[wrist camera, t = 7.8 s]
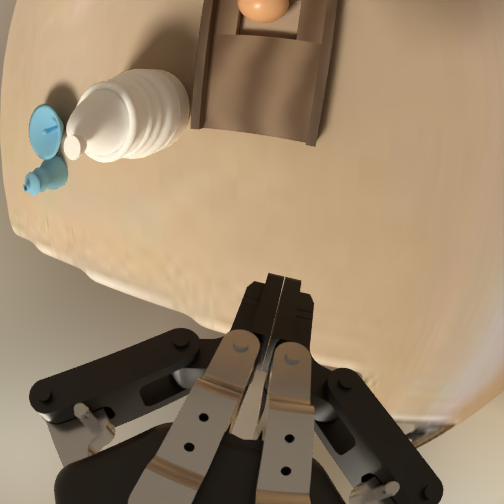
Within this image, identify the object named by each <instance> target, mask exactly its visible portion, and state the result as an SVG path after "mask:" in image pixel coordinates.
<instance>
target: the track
mask: <svg viewBox="0 0 504 504" xmlns="http://www.w3.org/2000/svg"><path fill="white" fill-rule="evenodd" d="M337 2H338V0H302V1H301V9H300V16H299V24H298V31H297V38H296V40H293V39H285V38H276V37H266V36H253V35H239V30H240V23H241V16H242V13H241V11H240V10H239V7H238V0H204V3H203V10H202V17H201V24H200V32H199V39H198V48H197V57H196V66H195V76H194V87H193V99H192V113H191V128H190V129H201V128H212V129H221V130H230V131H238V132H246V133H253V134H260V135H266V136H272V137H278V138H284V139H290V140H295V141H300V142H305V143H306V145H310V146H314V147H315V146H316V141H317V135H318V130H319V124H320V118H321V113H322V107H323V101H324V95H325V88H326V82H327V76H328V69H329V63H330V56H331V49H332V42H333V34H334V26H335V18H336V10H337Z"/></svg>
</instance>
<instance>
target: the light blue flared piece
mask: <svg viewBox="0 0 504 504" xmlns="http://www.w3.org/2000/svg"><path fill="white" fill-rule="evenodd" d="M63 130H64V123H63V122H62V120H61V119H60V117H59V116H58V115H57V113H56V112H55V110H54V109H53V108H52V107H51V106H49V105H46V104H42V105H40V106H38V107H37V108H36V109H35V110H34V112H33V114H32V116H31V119H30V123H29V138H30V142H31V145H32V148H33V150H34V151H35V153H36V154H37V155H38V156H39V157H40V158H42V159H45V160H44V161H43V162H42V164H41V166H40V167H39V168H36V169H35V170H34V171H33V172H30V173H28V174H27V175H26V178H25V184H24V185H23V189H24V191H25V192H27V191H28V192H29V193H30V194H31V195H36V194H38V192H43V191H45V190H46V189H47V188H48V189H52V190H53V189H57V188H59V187H61V186H63V185H64V184H65V183H66V181H67V177H68V172H67V167H66V164H65V162H64V160H63V159H62V158H61V157H60V156H58V155H55V154H56V153H57V151H58V149H59V146H60V142H61V138H62V134H63Z"/></svg>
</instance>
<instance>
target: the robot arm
mask: <svg viewBox="0 0 504 504" xmlns="http://www.w3.org/2000/svg"><path fill="white" fill-rule="evenodd" d="M283 280H284V276H280V275H275V274H271V273H268V276H267V280H266V283H265V284H264V283H260V282H256V281H254V282H253V283H252V284H250V285H249V286H248V287H247V289H246V291H245V294H244V297H243V299H242V302H241V304H240V307H239V310H238V312H237V315H236V317H235V320H234V323H233V325H232V328H231V330H230V331H229V332H228V333H227V334H226V335H225V336H223V337H221V338H217V339H199V337H198V336H197V335H196V334H195V333H194V332H193V331H191V330H189V329H185V328H177V329H173V330H170V331H168V332H165V333H163V334H161V335H158V336H155V337H153V338H151V339H148V340H146V341H143V342H141V343H138V344H136V345H133V346H131V347H128V348H126V349H123V350H121V351H118V352H116V353H113V354H110V355H108V356H105V357H103V358H100V359H97V360H94V361H92V362H89V363H86V364H84V365H81V366H78V367H76V368H73V369H70V370H67V371H65V372H62V373H59V374H56V375H53V376H51V377H48V378H45V379H42V380H39V381H38V382H36V383H35V384H34V385H33V386H32V388H31V390H30V394H29V400H30V403H31V405H32V407H33V408H34V409H35V410H36V411H37V412H38V413H39V414H40V415H41V416H42V418H43V419H44V420H45V421H46V422H47V425H48V427H49V431H50V433H51V436H52V439H53V442H54V444H55V447H56V450H57V452H58V455H59V457H60V459H61V462H62V464H63V466H64V468H63V469H62V470H61V471H60V472H59V474H58V476H57V478H56V480H55V486H54V492H55V493H54V494H55V502H56V504H346V503H345V502H344V500H343V498H342V497H341V495H340V494H339V492H338V491H337V489H336V487H335V486H334V484H333V483H332V481H331V479H330V478H329V476H328V475H327V473H326V471H325V470H324V468H323V467H322V466H321V465H320V464H319V463H318V462H317V461H316V460H315V459H314V458H313V457H312V455H313V439H314V431H315V432H316V434H317V435H318V437H319V438H320V440H321V441H322V443H323V444H324V446H325V447H326V449H327V450H328V452H329V453H330V455H331V456H332V458H333V459H334V461H335V462H336V464H337V465H338V466H339V468H340V469H341V471H342V472H343V474H344V475H345V477H346V478H347V479H348V481H349V482H350V484H351V485H352V486H353V490H352V491H351V493H350V496H349V503H350V504H438V503H439V502H440V500H441V498H442V495H443V485H442V483H441V481H440V479H439V478H438V477H437V476H436V474H435V473H434V471H433V470H432V469H431V468H430V466H429V465H428V464H427V462H426V461H425V460H424V458H422V456H421V455H420V453H419V452H418V451H417V449H416V448H415V447H414V445H413V444H412V443H411V442H410V440H409V439H408V438H407V436H406V435H405V434H404V433H403V431H402V430H401V429H400V427H399V426H398V425H397V424H396V422H395V421H394V420H393V418H392V417H391V416H390V415H389V413H388V412H387V411H386V409H385V408H384V407H383V406H382V404H381V403H380V402H379V400H378V399H377V398H376V397H375V395H374V394H373V393H372V391H371V390H370V389H369V388H368V386H367V385H366V384H365V382H364V381H363V380H362V379H361V378H360V376H359V375H358V374H357V373H356V372H354V371H353V370H351V369H348V368H338V369H336V370H334V371H331V370H329V369H327V368H325V367H323V366H321V365H320V364H318V363H317V362H316V361H315V360H314V359H313V357H312V356H311V353H310V339H311V329H312V319H313V309H314V302H313V300H312V298H311V295H310V294H306V293H302V292H300V287H301V280H297V279H292V278H288V277H285V281H284V285H283ZM282 285H283V289H282ZM281 289H282V293H281ZM280 294H281V296H280ZM279 298H280V300H279ZM278 302H279V304H278ZM277 306H278V308H277ZM276 311H277V312H276ZM275 315H276V316H275ZM274 319H275V320H274ZM273 323H274V324H273ZM271 332H272V333H271ZM270 336H271V337H270ZM269 339H270V341H269ZM268 343H269V345H268ZM267 346H268V349H267ZM266 350H267V353H266ZM265 353H266V357H265V361H264V365H263V369H262V371H264V372H267V374H266V378H265V382H264V385H263V388H262V393H261V399H260V406H259V412H258V418H257V424H256V429H255V432H254V436H253V440H243V439H241V438H238V437H237V436H235V435H233V434H231V433H232V430H233V427H234V424H235V421H236V419H237V416H238V414H239V411H240V409H241V406H242V404H243V401H244V399H245V396H246V394H247V391H248V389H249V386H250V384H251V382H252V381H253V378H254V374H255V371H256V370H259V371H260V370H261V367H262V363H263V360H264V356H265ZM188 394H189V395H188ZM186 395H188V397H187V398H186V400H185V402H184V404H183V406H182V408H181V410H180V411H179V413H178V415H177V417H176V419H175V421H174V422H171V423H165V424H161V425H158V426H155V427H153V428H151V429H149V430H147V431H145V432H143V433H141V434H138V435H136V436H134V437H132V438H130V439H128V440H126V441H123V442H121V443H119V444H117V445H115V446H112V447H110V448H108V449H105V450H103V451H101V452H100V450H101V449H102V448H103V447H104V446H105V445H107V444H109V443H110V442H111V441H112V440H113V438H114V436H115V427H117V426H119V425H122V424H124V423H127V422H129V421H132V420H134V419H136V418H138V417H141V416H143V415H145V414H148V413H150V412H152V411H154V410H156V409H159V408H161V407H163V406H165V405H167V404H169V403H171V402H174V401H175V400H178V399H180V398H182V397H184V396H186Z"/></svg>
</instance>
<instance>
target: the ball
mask: <svg viewBox="0 0 504 504" xmlns="http://www.w3.org/2000/svg"><path fill="white" fill-rule="evenodd" d="M238 7H239V10H240V11H241V13H242V14H243V15H244V16H245V17H246V18H248V19H249V20H251V21H254V22H258V23H270V22H273V21H276V20H278V19H280V18H281V17H282V16H283V15H284V14H285V13H286V12H287V10H288V7H289V0H238Z"/></svg>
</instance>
